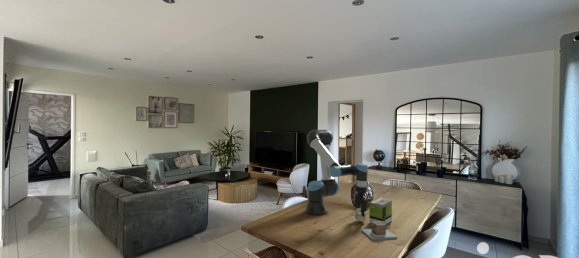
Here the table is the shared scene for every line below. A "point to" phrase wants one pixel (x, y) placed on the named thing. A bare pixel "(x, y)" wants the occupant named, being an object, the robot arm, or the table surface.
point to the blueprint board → (378, 237)
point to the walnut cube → (379, 228)
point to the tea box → (380, 211)
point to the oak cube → (358, 215)
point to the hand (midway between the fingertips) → (360, 218)
